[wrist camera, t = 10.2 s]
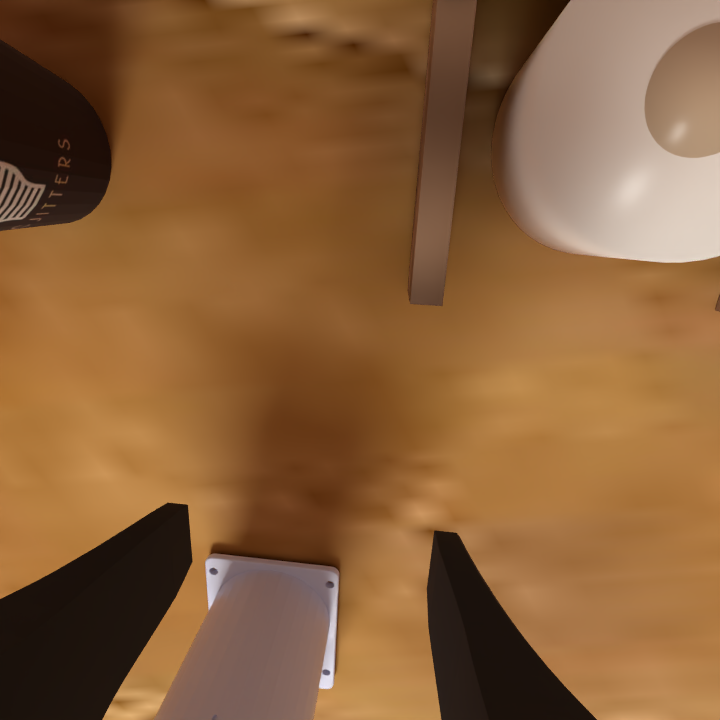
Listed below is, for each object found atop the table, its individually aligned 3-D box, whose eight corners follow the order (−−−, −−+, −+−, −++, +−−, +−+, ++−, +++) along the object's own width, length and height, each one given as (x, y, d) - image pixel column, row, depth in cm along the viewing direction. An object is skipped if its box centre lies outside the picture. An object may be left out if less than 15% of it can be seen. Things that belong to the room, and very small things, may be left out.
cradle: (748, 312, 18) (873, 339, 13) (403, 290, 19) (405, 307, 14) (867, -44, 14) (1099, -182, 10) (431, -47, 15) (446, -173, 11)
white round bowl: (684, 261, 18) (822, 272, 12) (476, 248, 18) (512, 252, 13) (755, 14, 15) (975, -123, 9) (509, 8, 16) (574, -125, 10)
